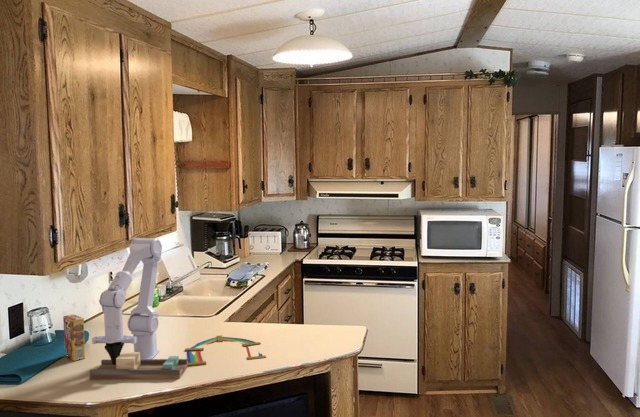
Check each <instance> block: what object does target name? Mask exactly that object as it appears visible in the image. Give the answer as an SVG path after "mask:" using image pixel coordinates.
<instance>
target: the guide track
mask: <svg viewBox="0 0 640 417" xmlns="http://www.w3.org/2000/svg"><path fill="white" fill-rule="evenodd" d="M140 363H141V365H140V366H139V367H138V368H137V369H116V365H113V364H112V361H111V359H102V360H100V365H99V366H98V367H97V368H96V369H93V368H92V369H90V370H89V379H90V380H164V379H165V380H169V379H170V380H172V379H173V380H176V379H178V380H179V379H181V377H182V376H183V375H184V373H185V372H186V370H187V369H188V367H187V363H188V358H179V355H170V356H168V358H160V359H159V358H153V359H140Z"/></svg>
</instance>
